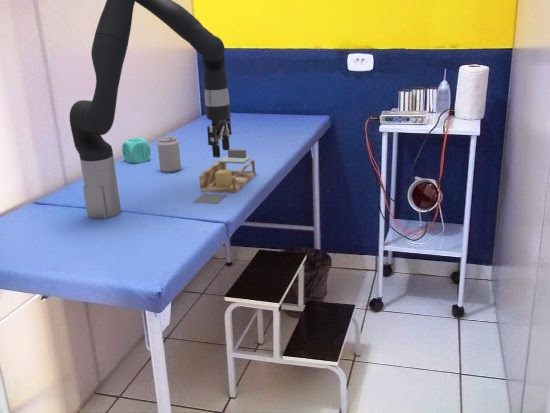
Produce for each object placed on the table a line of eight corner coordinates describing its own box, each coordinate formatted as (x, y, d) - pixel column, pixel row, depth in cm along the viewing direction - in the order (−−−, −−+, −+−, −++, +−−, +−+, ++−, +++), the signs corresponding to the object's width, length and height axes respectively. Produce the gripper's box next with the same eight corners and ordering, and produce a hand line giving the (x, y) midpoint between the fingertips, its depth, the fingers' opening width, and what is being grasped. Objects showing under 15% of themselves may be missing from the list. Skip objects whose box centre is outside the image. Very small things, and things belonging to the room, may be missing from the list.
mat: (217, 205, 181) (217, 203, 180) (193, 203, 183) (192, 202, 183) (227, 196, 188) (227, 194, 188) (203, 195, 190) (203, 193, 190)
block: (227, 188, 194) (226, 173, 192) (216, 188, 195) (215, 173, 193) (232, 184, 197) (231, 170, 195) (220, 184, 198) (219, 169, 197)
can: (177, 173, 214) (173, 140, 210) (157, 173, 215) (153, 140, 211) (184, 167, 221) (180, 135, 217) (164, 167, 222) (161, 135, 218)
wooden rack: (236, 194, 190) (234, 177, 188) (200, 192, 193) (199, 175, 191) (256, 175, 207) (255, 159, 205) (223, 173, 211) (222, 158, 209)
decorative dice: (132, 164, 227) (130, 144, 225) (123, 160, 233) (120, 140, 230) (151, 160, 232) (149, 140, 229) (142, 156, 238) (139, 136, 235)
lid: (244, 163, 200) (243, 154, 199) (219, 162, 202) (218, 153, 201) (250, 158, 206) (250, 149, 205) (226, 157, 208) (225, 148, 207)
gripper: (220, 107, 179) (224, 160, 185) (236, 98, 192) (240, 147, 198) (197, 107, 182) (202, 159, 187) (214, 98, 194) (218, 147, 200)
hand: (221, 153), depth 193 cm, fingers open, 8 cm apart
